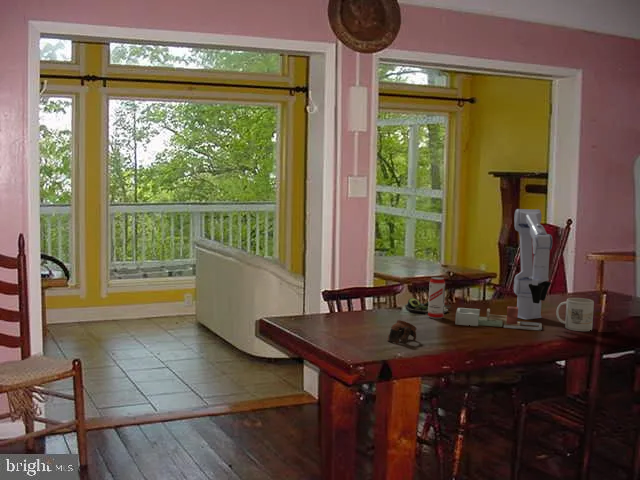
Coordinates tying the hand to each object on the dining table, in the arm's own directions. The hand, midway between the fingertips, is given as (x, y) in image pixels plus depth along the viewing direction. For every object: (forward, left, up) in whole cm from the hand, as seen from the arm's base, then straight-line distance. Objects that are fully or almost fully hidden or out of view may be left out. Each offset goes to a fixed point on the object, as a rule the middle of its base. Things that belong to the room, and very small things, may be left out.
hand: (538, 301), depth 292 cm
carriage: (+10, -9, -10) cm, 16 cm away
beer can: (+25, -31, -10) cm, 41 cm away
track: (+8, -7, -10) cm, 14 cm away
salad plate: (+19, -45, -10) cm, 50 cm away
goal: (+19, -18, -10) cm, 28 cm away
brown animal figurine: (+62, -3, -10) cm, 63 cm away
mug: (-13, +7, -10) cm, 18 cm away
